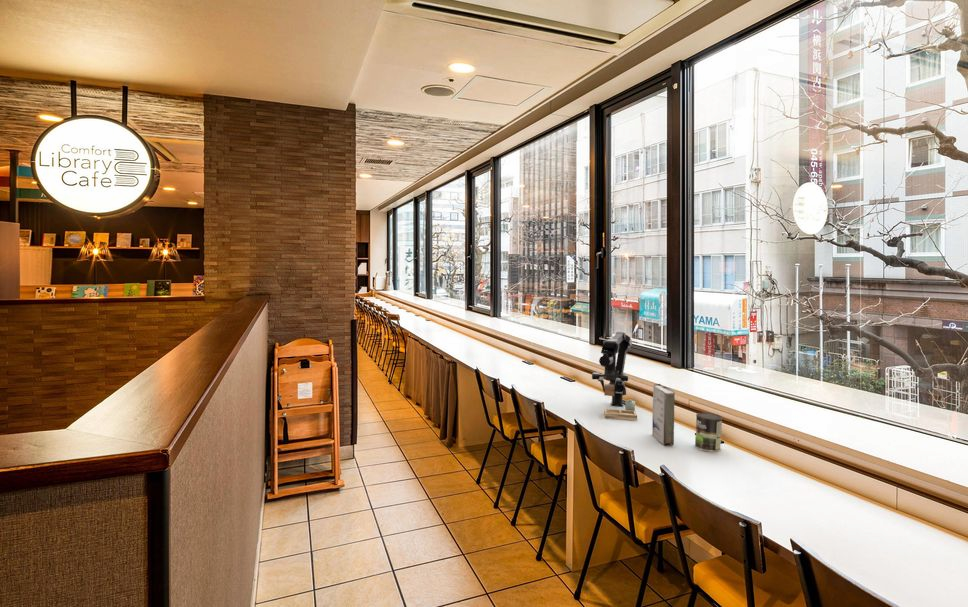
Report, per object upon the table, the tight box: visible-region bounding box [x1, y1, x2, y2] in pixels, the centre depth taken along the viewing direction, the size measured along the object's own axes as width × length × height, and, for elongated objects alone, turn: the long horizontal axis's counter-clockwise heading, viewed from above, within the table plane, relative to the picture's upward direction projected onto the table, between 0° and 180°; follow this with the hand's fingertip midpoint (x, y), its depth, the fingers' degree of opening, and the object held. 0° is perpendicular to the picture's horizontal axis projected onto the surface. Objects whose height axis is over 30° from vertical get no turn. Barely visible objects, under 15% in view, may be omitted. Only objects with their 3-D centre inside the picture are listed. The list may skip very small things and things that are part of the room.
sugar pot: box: [624, 399, 636, 411], centre depth 273 cm, size 5×5×7 cm
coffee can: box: [694, 412, 723, 453], centre depth 219 cm, size 10×10×14 cm
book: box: [651, 383, 676, 446], centre depth 228 cm, size 16×6×24 cm, turn 178°
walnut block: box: [603, 383, 614, 397], centre depth 274 cm, size 5×5×5 cm
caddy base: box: [603, 408, 638, 421], centre depth 264 cm, size 9×16×2 cm, turn 78°
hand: (609, 392), depth 274 cm, fingers closed on walnut block, 5 cm apart
